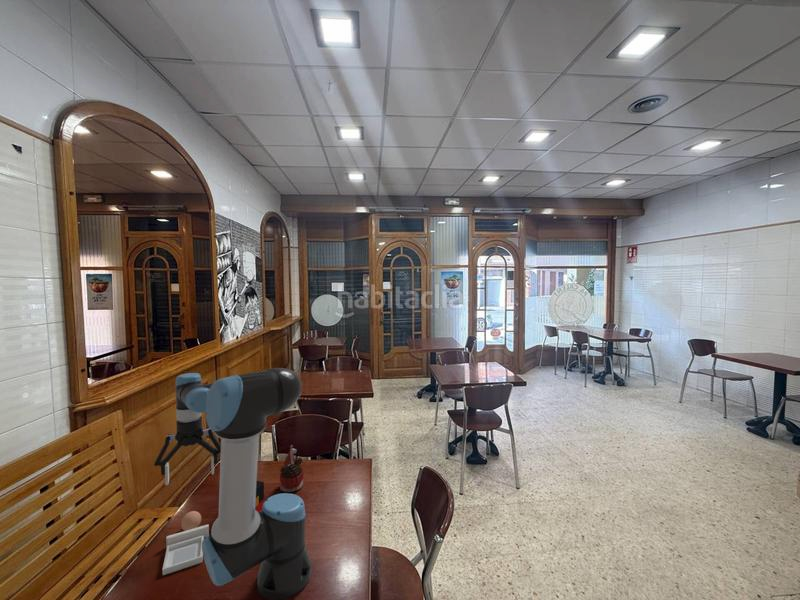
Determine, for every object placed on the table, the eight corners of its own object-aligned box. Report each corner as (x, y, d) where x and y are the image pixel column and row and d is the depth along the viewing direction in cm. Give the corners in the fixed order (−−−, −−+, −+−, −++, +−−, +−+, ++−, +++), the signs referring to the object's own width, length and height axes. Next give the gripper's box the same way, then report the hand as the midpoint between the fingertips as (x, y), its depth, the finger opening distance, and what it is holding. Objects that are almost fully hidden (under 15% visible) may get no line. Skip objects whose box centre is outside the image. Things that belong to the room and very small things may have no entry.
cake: (289, 496, 137) (289, 453, 136) (274, 489, 141) (273, 448, 141) (309, 483, 146) (308, 443, 145) (293, 477, 151) (293, 438, 150)
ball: (200, 531, 117) (200, 515, 117) (180, 537, 114) (180, 520, 114) (201, 521, 122) (201, 505, 122) (182, 526, 120) (181, 510, 119)
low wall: (208, 536, 115) (208, 526, 115) (166, 549, 109) (166, 538, 109) (208, 533, 116) (208, 524, 116) (167, 546, 111) (166, 536, 110)
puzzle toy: (247, 524, 121) (247, 497, 120) (223, 520, 123) (222, 494, 122) (264, 506, 131) (263, 481, 130) (241, 503, 133) (241, 478, 132)
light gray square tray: (202, 562, 104) (202, 556, 104) (162, 575, 100) (162, 569, 99) (203, 540, 113) (203, 535, 113) (167, 551, 109) (167, 546, 108)
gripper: (229, 408, 126) (230, 463, 127) (147, 421, 114) (149, 481, 115) (229, 415, 119) (230, 473, 120) (142, 429, 108) (144, 493, 109)
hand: (190, 477), depth 118 cm, fingers open, 13 cm apart
